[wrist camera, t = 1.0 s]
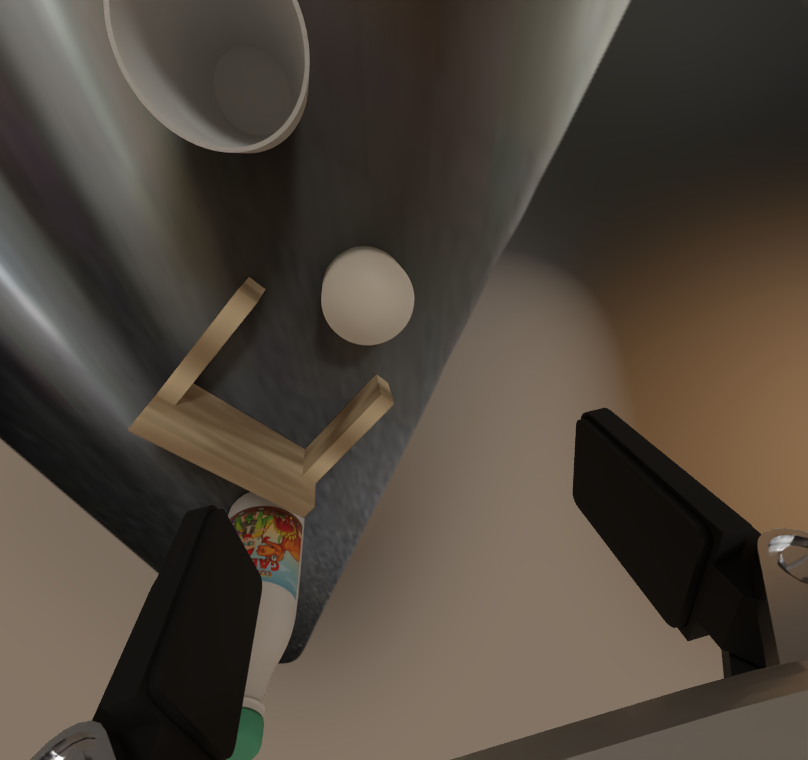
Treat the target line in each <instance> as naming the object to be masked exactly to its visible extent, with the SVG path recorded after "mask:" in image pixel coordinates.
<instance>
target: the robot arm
mask: <svg viewBox="0 0 808 760" xmlns="http://www.w3.org/2000/svg"><path fill="white" fill-rule="evenodd" d="M573 497H574V500H575V503H576V505H577V506H578V508H579V509H580V510H581V512H582V513H583V514H584V515H585V517H586V518H587V519H588V521H589V522H590V523H591V525H592V526H593V527H594V529H595V530H596V531H597V533H598V534H599V535H600V536H601V538H602V539H603V540H604V542H605V543H606V544H607V546H608V547H609V548H610V550H611V551H612V552H613V554H614V555H615V556H616V557H617V559H618V560H619V561H620V563H621V564H622V565H623V567H624V568H625V569H626V571H627V572H628V573H629V575H630V576H631V577H632V578H633V580H634V581H635V582H636V584H637V585H638V586H639V588H640V589H641V590H642V592H643V593H644V594H645V595H646V597H647V598H648V599H649V601H650V602H651V603H652V605H653V606H654V607H655V609H656V610H657V611H658V613H659V614H660V615H661V617H662V618H663V619H664V620H665V622H666V623H667V624H669V625H670V626H671V627H673V628H676V627H677V628H678V629H679V630H680V632H681V633H682V634H683V636H684V637H685V638H686V639H687V641H690V640H693V639H697V638H700V637H704V636H707V635H710V636H711V638H712V639H713V640H714V641H715V642H716V644H717V645H718V646H719V647H720V648H721V651H722V663H723V674H724V679H721V680H717V681H714V682H710V683H706V684H703V685H699V686H695V687H692V688H688V689H684V690H681V691H678V692H674V693H671V694H667V695H664V696H661V697H657V698H654V699H651V700H647V701H644V702H641V703H637V704H634V705H631V706H627V707H624V708H621V709H617V710H614V711H610V712H607V713H604V714H600V715H597V716H594V717H591V718H588V719H584V720H581V721H577V722H574V723H570V724H567V725H564V726H561V727H557V728H554V729H550V730H547V731H544V732H541V733H537V734H534V735H531V736H527V737H524V738H521V739H518V740H514V741H511V742H508V743H504V744H501V745H498V746H494V747H491V748H488V749H485V750H481V751H478V752H475V753H471V754H468V755H465V756H462V757H459V758H455V759H452V760H808V533H807V532H804V531H800V530H794V529H786V528H783V529H771V530H769V531H766V532H764V533H763V534H760V533H759V532H758V531H757V530H756V529H754V528H753V527H752V525H751V524H749V523H748V522H747V521H746V520H745V519H743V518H742V517H741V516H740V515H739V514H737V513H736V512H735V511H734V510H732V509H731V508H730V507H729V506H727V505H726V504H725V503H724V502H722V501H721V500H720V499H719V498H718V497H716V496H715V495H714V494H713V493H711V492H710V491H709V490H708V489H707V488H705V487H704V486H703V485H701V484H700V483H699V482H698V481H697V480H695V479H694V478H693V477H692V476H691V475H689V474H688V473H687V472H686V471H684V470H683V469H682V468H681V467H679V466H678V465H677V464H676V463H675V462H673V461H672V460H671V459H670V458H668V457H667V456H666V455H665V454H663V453H662V452H661V451H660V450H658V449H657V448H656V447H655V446H654V445H652V444H651V443H650V442H648V441H647V440H646V439H645V438H644V437H643V436H641V435H640V434H639V433H638V432H636V431H635V430H634V429H633V428H631V427H630V426H629V425H628V424H627V423H625V422H624V421H623V420H622V419H620V418H619V417H618V416H617V415H615V414H614V413H613V412H612V411H611V410H609V409H607V408H602V409H598V410H593V411H589V412H586V413H583V415H582V416H581V420H578V421H577V423H576V438H575V457H574V478H573ZM261 594H262V578H261V575H260V573H259V571H258V570H257V568H256V566H255V564H254V562H253V561H252V559H251V557H250V555H249V553H248V552H247V550H246V548H245V546H244V544H243V543H242V541H241V539H240V537H239V535H238V534H237V532H236V530H235V528H234V526H233V525H232V523H231V521H230V519H229V517H228V516H227V514H226V512H225V511H224V510H223V509H219V510H218V509H217V508H216V507H215V506H214V505H211V506H207V507H203V508H198V509H194V510H190V511H188V512H187V513H186V515H185V516H184V518H183V521H182V523H181V525H180V527H179V530H178V532H177V534H176V536H175V539H174V541H173V543H172V545H171V548H170V550H169V552H168V554H167V557H166V559H165V561H164V564H163V566H162V568H161V570H160V573H159V575H158V577H157V579H156V580H155V582H154V584H153V586H152V587H151V590H150V592H149V594H148V597H147V599H146V601H145V603H144V605H143V608H142V610H141V612H140V614H139V617H138V619H137V621H136V624H135V626H134V628H133V630H132V633H131V634H130V637H129V639H128V641H127V643H126V646H125V648H124V650H123V653H122V655H121V657H120V659H119V661H118V664H117V666H116V668H115V670H114V673H113V675H112V677H111V679H110V681H109V684H108V686H107V688H106V690H105V693H104V695H103V697H102V699H101V702H100V704H99V706H98V709H97V711H96V713H95V715H94V717H93V720H92V721H87V722H81V723H77V724H75V725H73V726H71V727H69V728H67V729H65V730H63V731H62V732H61V733H59V734H58V735H57V736H55V737H54V738H53V739H52V740H50V741H49V742H48V743H46V744H45V745H44V746H43V747H42V748H41V749H40V750H39V751H38V752H37V753H36V754H35V755H34V756H33V757H32V758H31V760H226V759H228V758H230V757H231V756H232V754H233V752H234V750H235V745H236V740H237V734H238V729H239V723H240V717H241V711H242V705H243V699H244V694H245V688H246V682H247V676H248V670H249V664H250V658H251V653H252V647H253V641H254V635H255V629H256V623H257V618H258V612H259V606H260V600H261Z"/></svg>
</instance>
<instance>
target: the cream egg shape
mask: <svg viewBox="0 0 808 760" xmlns="http://www.w3.org/2000/svg"><path fill="white" fill-rule="evenodd" d="M321 305H322V310H323V314H324V317H325V319H326V321H327V323H328V324H329V326H330V327H331V328H332V329H333V331H334V332H335V333H337V334H338V335H339V336H340V337H342V338H343V339H345V340H347V341H349V342H352V343H355V344H359V345H376V344H380V343H384V342H386V341H388V340H390V339H392V338H394V337H395V336H396V335H398V334H399V333H400V332H401V331H402V330H403V329H404V327H405V326H406V325H407V323H408V322H409V320H410V317H411V315H412V312H413V308H414V291H413V286H412V284H411V281H410V279H409V277H408V275H407V274H406V272H405V271H404V270H403V269H402V267H401V266H400V265H399V264H398V263H397V262H396V261H395V259H394V258H393V257H392V256H390V255H389V254H388V253H386V252H385V251H383V250H381V249H378V248H375V247H371V246H356V247H352V248H349V249H347V250H345V251H343V252H341V253H340V254H338V255H337V256H336V257H335V258H334V259H333V260H332V261H331V263H330V264H329V265H328V267H327V269H326V271H325V274H324V277H323V283H322V294H321Z"/></svg>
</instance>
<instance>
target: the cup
mask: <svg viewBox="0 0 808 760" xmlns="http://www.w3.org/2000/svg"><path fill="white" fill-rule="evenodd" d="M104 15H105V22H106V28H107V32H108V37H109V40H110V44H111V47H112V50H113V53H114V55H115V58H116V60H117V62H118V65H119V67H120V69H121V71H122V73H123V75H124V77H125V79H126V80H127V82H128V84H129V85H130V87H131V88H132V90H133V91H134V93H135V94H136V96H137V97H138V98H139V100H140V101H141V102H142V103H143V105H144V106H145V107H146V108H147V109H148V110H149V111H150V112H151V113H152V115H153V116H154V117H156V118H157V119H158V120H159V121H160V122H161V123H162V124H163V125H165V126H166V127H167V128H168V129H170V130H171V131H172V132H174V133H175V134H177V135H178V136H180V137H182V138H183V139H185V140H187V141H189V142H191V143H193V144H195V145H198V146H200V147H203V148H206V149H210V150H214V151H219V152H228V153H258V152H262V151H266V150H269V149H271V148H273V147H275V146H277V145H279V144H280V143H282V142H283V141H284V140H285V139H286V138H287V137H288V136H289V135H290V134H291V133H292V132H293V131H294V129H295V128H296V126H297V125H298V123H299V121H300V119H301V117H302V115H303V112H304V109H305V106H306V101H307V96H308V85H309V65H310V57H309V44H308V37H307V31H306V27H305V22H304V19H303V15H302V12H301V9H300V7H299V4H298V1H297V0H104Z"/></svg>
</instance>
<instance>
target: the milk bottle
mask: <svg viewBox="0 0 808 760" xmlns="http://www.w3.org/2000/svg"><path fill="white" fill-rule="evenodd" d="M228 517H229V519H230V521H231V523H232V525H233V526H234V528H235V530H236V532H237V534H238V535H239V537H240V539H241V541H242V543H243V544H244V546H245V548H246V550H247V552H248V553H249V555H250V557H251V559H252V561H253V562H254V564H255V566H256V568H257V570H258V571H259V573H260V575H261V578H262V594H261V600H260V606H259V612H258V618H257V623H256V629H255V635H254V641H253V647H252V653H251V658H250V664H249V670H248V676H247V682H246V688H245V694H244V699H243V705H242V711H241V717H240V723H239V729H238V734H237V740H236V745H235V750H234V752H233V754H232V756H231V757H230V758H228V759H226V760H252V759H253V758H254V757H255V756H256V755H257V754H258V752H259V750H260V747H261V743H262V737H263V728H264V721H263V719H264V716H265V712H266V710H265V707H264V705H263V700H264V696H265V692H266V689H267V686H268V684H269V681H270V679H271V676H272V674H273V672H274V670H275V668H276V666H277V664H278V662H279V660H280V659H281V657H282V655H283V653H284V651H285V649H286V647H287V644H288V642H289V639H290V637H291V633H292V630H293V626H294V622H295V617H296V609H297V601H298V592H299V581H300V570H301V559H302V546H303V534H304V518H302V517H300V516H298V515H296V514H294V513H292V512H290V511H288V510H286V509H284V508H282V507H280V506H278V505H276V504H274V503H272V502H270V501H268V500H266V499H264V498H262V497H260V496H258V495H256V494H254V493H252V492H248V493H246V494H244V495H243V496H241V497H240V498H239V499H238V500H237V501H236V502H235V503H234V504H233V505H232V507H231V509H230V511H229V514H228Z"/></svg>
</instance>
